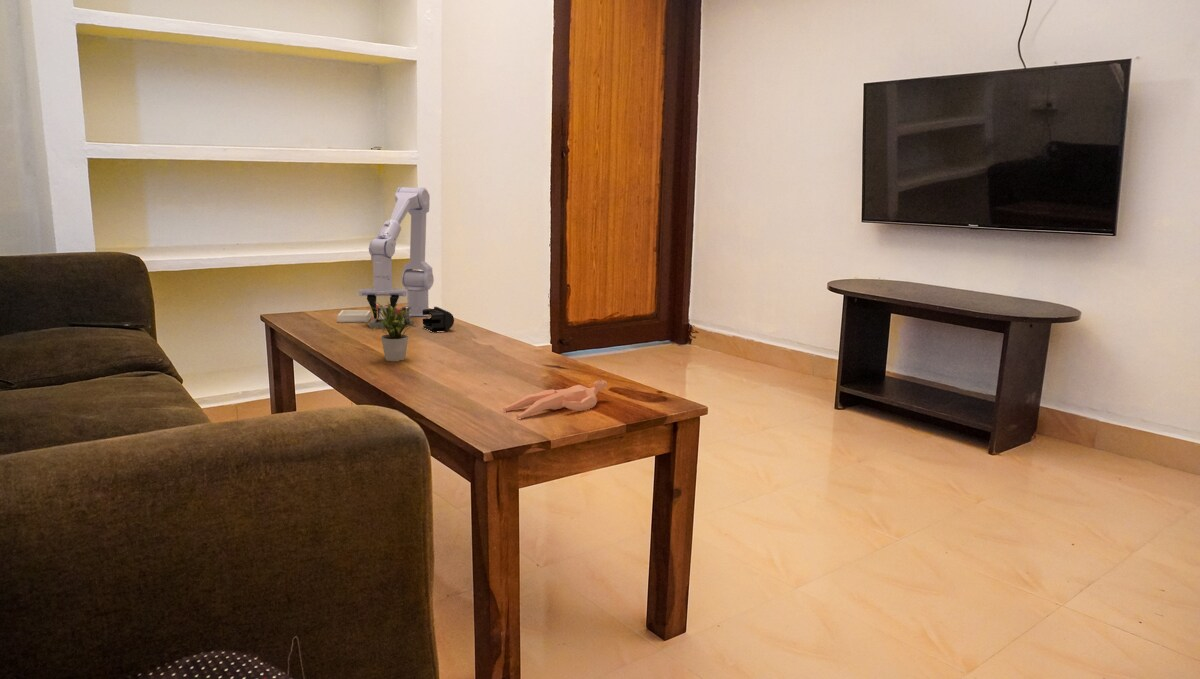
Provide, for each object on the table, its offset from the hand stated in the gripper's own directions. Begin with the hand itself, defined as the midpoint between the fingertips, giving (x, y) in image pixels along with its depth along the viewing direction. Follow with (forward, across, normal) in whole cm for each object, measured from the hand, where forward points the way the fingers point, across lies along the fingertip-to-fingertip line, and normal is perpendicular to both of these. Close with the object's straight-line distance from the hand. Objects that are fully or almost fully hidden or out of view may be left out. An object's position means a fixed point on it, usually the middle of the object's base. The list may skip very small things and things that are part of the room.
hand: (383, 318), depth 254 cm
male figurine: (+3, +48, -92) cm, 103 cm away
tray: (+3, -10, +10) cm, 15 cm away
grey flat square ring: (+3, 0, 0) cm, 3 cm away
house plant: (+3, +6, -46) cm, 46 cm away
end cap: (+3, +18, -6) cm, 19 cm away
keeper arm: (0, +1, +8) cm, 8 cm away
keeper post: (+3, +7, +3) cm, 8 cm away
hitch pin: (+3, 0, 0) cm, 3 cm away
